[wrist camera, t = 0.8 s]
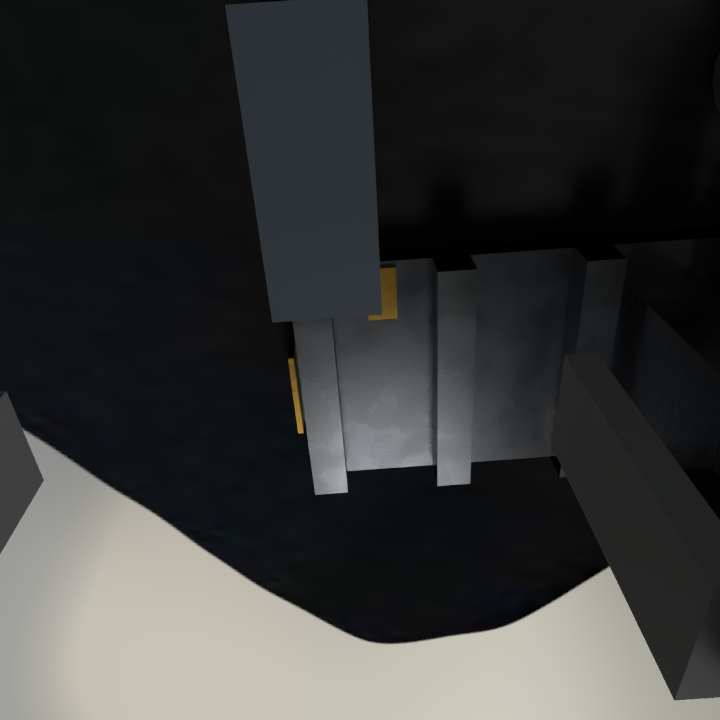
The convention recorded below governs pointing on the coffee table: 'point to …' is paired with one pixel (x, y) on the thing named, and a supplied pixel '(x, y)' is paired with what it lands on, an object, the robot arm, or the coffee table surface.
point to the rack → (511, 352)
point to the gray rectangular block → (310, 153)
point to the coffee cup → (716, 83)
